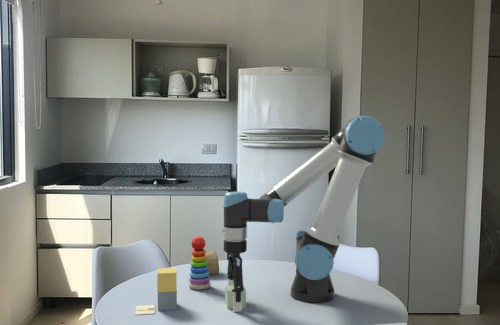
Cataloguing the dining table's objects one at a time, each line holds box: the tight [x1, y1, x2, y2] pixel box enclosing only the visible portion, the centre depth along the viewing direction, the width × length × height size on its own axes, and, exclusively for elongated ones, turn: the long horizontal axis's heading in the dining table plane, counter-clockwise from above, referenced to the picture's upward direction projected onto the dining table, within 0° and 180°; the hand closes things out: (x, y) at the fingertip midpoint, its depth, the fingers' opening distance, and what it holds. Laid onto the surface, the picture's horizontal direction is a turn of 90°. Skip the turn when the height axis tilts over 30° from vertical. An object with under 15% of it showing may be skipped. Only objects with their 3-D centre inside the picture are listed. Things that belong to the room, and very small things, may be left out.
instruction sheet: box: [134, 304, 156, 316], centre depth 168 cm, size 6×8×1 cm
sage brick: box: [224, 284, 247, 310], centre depth 172 cm, size 6×6×6 cm
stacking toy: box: [188, 236, 211, 291], centre depth 192 cm, size 8×8×19 cm
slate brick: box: [157, 291, 178, 311], centre depth 171 cm, size 6×6×6 cm
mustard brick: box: [156, 267, 178, 293], centre depth 170 cm, size 6×6×6 cm
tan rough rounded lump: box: [205, 250, 220, 276], centre depth 210 cm, size 10×10×10 cm
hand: (234, 304), depth 173 cm, fingers open, 12 cm apart
